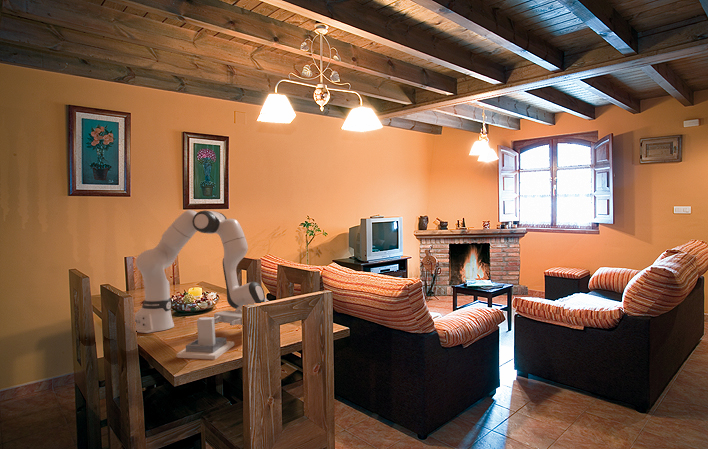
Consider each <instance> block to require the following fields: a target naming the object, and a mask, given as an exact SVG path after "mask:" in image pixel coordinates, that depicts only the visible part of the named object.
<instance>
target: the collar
mask: <svg viewBox="0 0 708 449" xmlns="http://www.w3.org/2000/svg"><path fill="white" fill-rule="evenodd" d="M215 342H216V343H215V344H214V345H212V346H206V345H198V337H197V338H196V339H194V340H193V341H191V342H189V343H187V344H185V349H186V352H203V353H214V352H215V351H217V350H218V349H219V348H221V347H222V346H224V345H225V344H227V337H220V336H219V337H218V336H217V337H216V336H215Z"/></svg>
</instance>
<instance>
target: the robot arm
mask: <svg viewBox="0 0 708 449" xmlns="http://www.w3.org/2000/svg"><path fill="white" fill-rule="evenodd" d="M196 232H199V233H201V234H207V235H208V234H209V235H213V234H217V235H218V236H219V238H220V240H221V243H222V246H223V259H222V269H223V276H224V281H225V287H226V301H227V304H228V305H229V306H230V307H231V308H232V309H235V310H221V311H216V312H215V313H213V314H214V315H213V317H214V323H215V324H217V323H218V324H219V323H226V324H229V325H230V326H236V325H237V326H238V325H241V326H243V325H242V306H243V305H248V304H254V303H261V302H266V301H269V300H268V298H266V296H265V291H264V288H263V286H262V285H261V284H260V283H259V282H257V281H250V282H248V283H245V284H242V285H239V281H238V274H237V268H238V265H239V263H240V262H241V261H242V260H243V259H244V258H245V257H246V255H247V253H248V250H249V246H248V245H249V244H248V241H247V238H246V234H245V233H244V230H243V228H242V226H241V224H240V222H239V221H238V220H237V219H235V218H227V216H226V215H225V214H224V213H222V212H218V211H215V210H200V211H198V212H197V211H195V210H192V209H187V210H185V211H184V212H182V214H179V216H178V217H177V218H176V219H175V220H174V221H173V222H172V223H171V225H170V226H169V227H168V228H167V229H166V230H165V231H164V232H163V234H162V235H161V239H160V241H159V242H158V244H157V245H156V246H155V247H153V248H151V249H147V250H144V251H143V252H141V253H139V254H138V256H137V257H136V258H135V266H136V268H137V269H138V271H139V272H140V274H141V276H142V280H143V285H144V300H143V301H141V302H139V304H140V305H141V308H140V309H138V310H137V311H135V313H134V314H135V322H136V330H137V332H136V333H142V334H143V333H144V334H149V333H154V332H161V331H166V330H169V329H172V328H174V327H175V324H174V320H173V317H172V311H171V310H172V299H171V298H172V297H171V294H170V293H171V292H170V291H171V290H170V289H171V288H170V281H169V280H168V279H167V276H166V272H165V269H168V268H169V267H170V266H172V265H173V264H174V263H175V260H176V259H177V257H178V256H179V254H180V252H181V250H182V249H183V247H185V246H186V244H187V243H188V242H189V241H190V240H191V239H192V237H193V236H194V235H195V234H196Z"/></svg>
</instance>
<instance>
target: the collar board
mask: <svg viewBox="0 0 708 449" xmlns="http://www.w3.org/2000/svg"><path fill="white" fill-rule="evenodd" d="M226 341H227V340H226ZM234 346H235V341H229V340H228V341H227V344H225V345H224V346H222V347H221V348H219V349H218V350H217V351H215V352H214V353H203V352H186V348H184V349H183V350H181V351H179V352H177V353H176V358H179V359H183V358H184V359H199V360H216V359H218V358H220V356H222V355H224V353H226V352H227V351H229V350H230V349H231V348H233V347H234Z"/></svg>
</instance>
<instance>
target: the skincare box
mask: <svg viewBox="0 0 708 449" xmlns="http://www.w3.org/2000/svg"><path fill="white" fill-rule="evenodd" d="M215 325H216V323H214V316H210V317H209V316H208V317H207V316H205V317H204V316H203V317H199V318H197V319H196V326H197V327H196V328H197V329H196V330H197V338H198V345H206V346H212V345H214V344H215V343H216V342H215V337H216V326H215Z"/></svg>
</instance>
